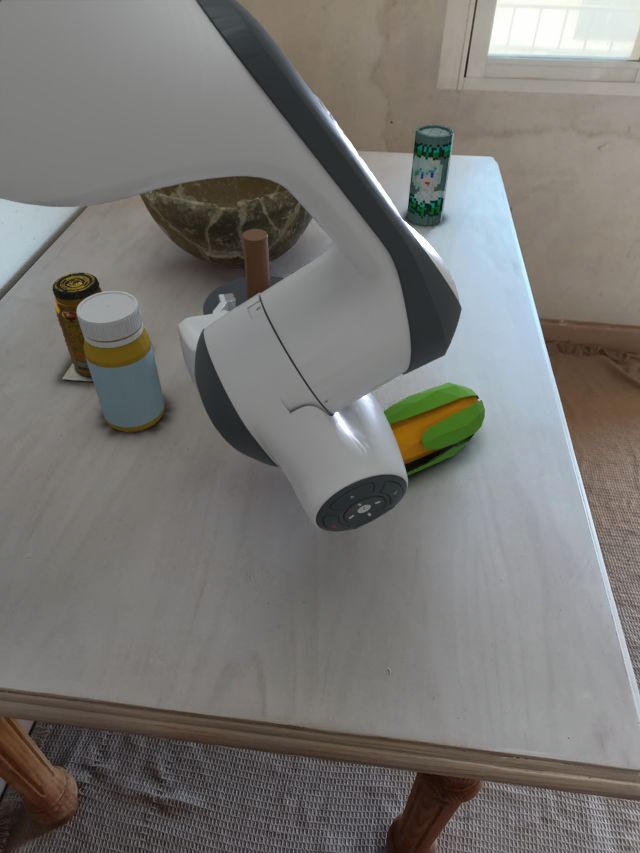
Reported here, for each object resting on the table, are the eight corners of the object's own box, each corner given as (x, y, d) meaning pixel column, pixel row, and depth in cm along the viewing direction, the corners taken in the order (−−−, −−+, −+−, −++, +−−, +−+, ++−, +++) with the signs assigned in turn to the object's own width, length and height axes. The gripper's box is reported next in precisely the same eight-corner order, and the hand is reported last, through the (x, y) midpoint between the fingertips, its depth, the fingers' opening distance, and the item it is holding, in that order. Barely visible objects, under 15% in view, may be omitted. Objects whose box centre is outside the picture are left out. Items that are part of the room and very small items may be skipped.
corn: (509, 390, 66) (352, 464, 58) (498, 445, 71) (352, 519, 63) (461, 358, 71) (310, 422, 63) (454, 411, 76) (313, 476, 68)
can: (404, 222, 112) (413, 134, 102) (411, 208, 116) (420, 122, 106) (437, 227, 111) (450, 139, 101) (444, 213, 115) (456, 126, 105)
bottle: (122, 444, 71) (89, 334, 61) (95, 412, 75) (60, 303, 64) (176, 417, 74) (154, 309, 64) (148, 388, 78) (122, 281, 68)
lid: (258, 361, 69) (251, 279, 62) (180, 314, 76) (167, 235, 69) (339, 311, 77) (341, 233, 70) (262, 273, 83) (257, 198, 76)
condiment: (83, 346, 84) (58, 266, 76) (145, 350, 84) (126, 269, 76) (62, 380, 79) (32, 297, 71) (127, 384, 78) (105, 302, 70)
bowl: (136, 302, 92) (114, 203, 82) (163, 221, 112) (148, 133, 102) (323, 300, 93) (324, 201, 83) (318, 219, 113) (318, 132, 102)
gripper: (420, 325, 55) (368, 252, 65) (185, 363, 51) (168, 279, 61) (412, 381, 59) (365, 305, 69) (195, 420, 55) (177, 333, 65)
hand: (271, 293), depth 65 cm, fingers open, 8 cm apart
